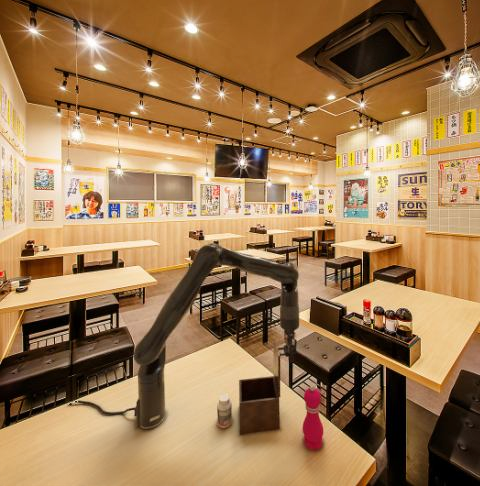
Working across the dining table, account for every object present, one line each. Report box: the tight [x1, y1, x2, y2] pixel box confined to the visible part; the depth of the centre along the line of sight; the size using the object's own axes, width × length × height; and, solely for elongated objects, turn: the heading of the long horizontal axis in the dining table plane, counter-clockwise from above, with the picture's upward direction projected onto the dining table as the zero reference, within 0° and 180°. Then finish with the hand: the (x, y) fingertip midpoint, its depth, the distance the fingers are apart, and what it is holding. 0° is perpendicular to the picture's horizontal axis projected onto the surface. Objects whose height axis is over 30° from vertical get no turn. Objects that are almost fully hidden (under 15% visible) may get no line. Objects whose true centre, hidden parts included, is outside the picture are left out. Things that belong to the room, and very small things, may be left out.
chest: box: [238, 375, 281, 436], centre depth 100 cm, size 15×13×12 cm
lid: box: [273, 338, 288, 398], centre depth 100 cm, size 15×13×5 cm
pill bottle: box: [216, 393, 233, 429], centre depth 98 cm, size 5×5×10 cm
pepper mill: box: [302, 384, 324, 451], centre depth 89 cm, size 7×7×20 cm
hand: (289, 357), depth 101 cm, fingers closed on lid, 5 cm apart
